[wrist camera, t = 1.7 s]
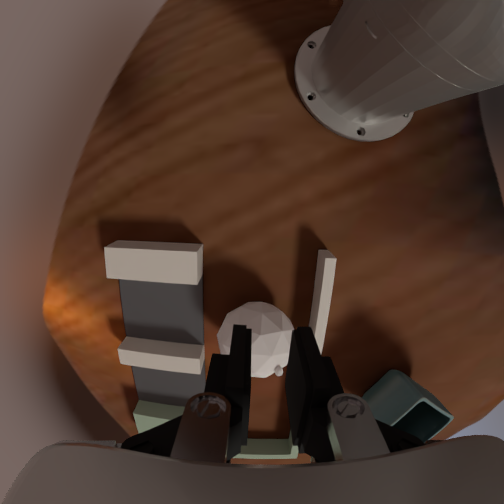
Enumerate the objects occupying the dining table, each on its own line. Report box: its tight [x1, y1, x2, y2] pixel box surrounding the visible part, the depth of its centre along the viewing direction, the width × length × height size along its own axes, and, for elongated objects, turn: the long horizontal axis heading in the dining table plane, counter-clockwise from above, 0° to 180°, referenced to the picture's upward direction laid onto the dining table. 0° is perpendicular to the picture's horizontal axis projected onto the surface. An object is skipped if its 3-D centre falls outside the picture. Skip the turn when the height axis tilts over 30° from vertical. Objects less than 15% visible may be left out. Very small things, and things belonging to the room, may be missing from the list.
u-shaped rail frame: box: [104, 240, 336, 459], centre depth 30 cm, size 28×21×3 cm
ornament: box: [217, 302, 294, 378], centre depth 27 cm, size 7×7×8 cm
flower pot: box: [362, 370, 454, 443], centre depth 28 cm, size 9×9×9 cm
